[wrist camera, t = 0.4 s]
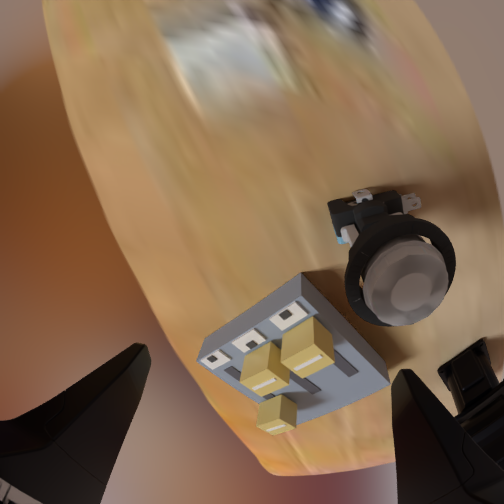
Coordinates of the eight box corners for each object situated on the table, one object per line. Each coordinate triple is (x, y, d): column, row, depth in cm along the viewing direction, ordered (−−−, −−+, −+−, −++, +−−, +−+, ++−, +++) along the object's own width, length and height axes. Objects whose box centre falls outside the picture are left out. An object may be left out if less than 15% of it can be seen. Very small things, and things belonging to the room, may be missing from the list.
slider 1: (290, 357, 22) (289, 385, 19) (264, 370, 23) (261, 397, 20) (270, 341, 21) (267, 369, 19) (244, 355, 22) (239, 383, 20)
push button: (406, 160, 17) (490, 209, 8) (416, 230, 19) (482, 313, 10) (316, 183, 19) (337, 252, 10) (335, 252, 21) (357, 352, 12)
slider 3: (331, 334, 20) (335, 363, 18) (302, 351, 21) (302, 379, 19) (312, 315, 20) (314, 344, 17) (282, 334, 21) (280, 363, 18)
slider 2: (297, 404, 25) (296, 428, 22) (275, 412, 26) (273, 436, 24) (281, 394, 24) (279, 419, 22) (259, 403, 26) (256, 427, 23)
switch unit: (385, 361, 25) (391, 386, 22) (296, 404, 30) (295, 427, 27) (300, 272, 22) (301, 298, 19) (204, 338, 27) (195, 363, 24)
